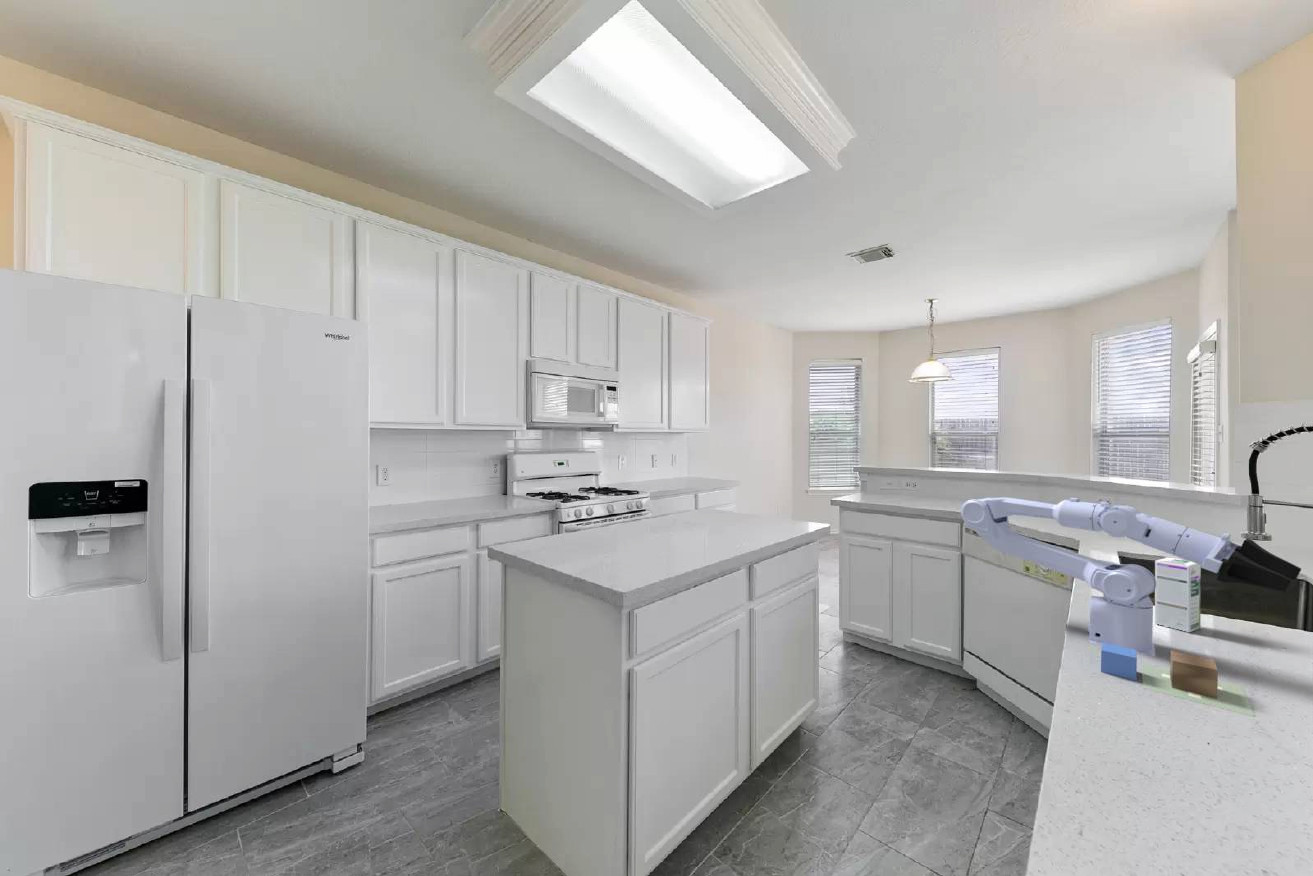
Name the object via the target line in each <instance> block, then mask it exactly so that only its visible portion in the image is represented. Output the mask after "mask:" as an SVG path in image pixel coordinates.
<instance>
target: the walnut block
mask: <svg viewBox="0 0 1313 876" xmlns="http://www.w3.org/2000/svg"><path fill="white" fill-rule="evenodd" d="M1169 670H1170V679H1171V685H1172V688H1176V689H1180V690H1184V691H1188V692H1192V693H1196V694H1200V695H1204V696H1208V697H1212V698H1216V699H1217V686H1218V681H1219V680H1218V679H1219V677H1218V676H1219V670H1218V666H1217V665H1216V662H1215V659H1211V658H1208V657H1206V658H1205V657H1202V656H1198V655H1193V654H1187V653H1182V652H1179V651H1178V652H1177V651H1175V650H1170V669H1169Z"/></svg>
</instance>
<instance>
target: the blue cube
mask: <svg viewBox="0 0 1313 876" xmlns="http://www.w3.org/2000/svg"><path fill="white" fill-rule="evenodd" d="M1100 651H1101V652H1100V655H1101V656H1100V657H1101V658H1100V672H1101V673H1104V674H1109V675H1113V676H1117V677H1120V678H1125V679H1127V680H1133V681H1137V671H1138V670H1137V667H1138V666H1137V665H1138V663H1137V662H1138V660H1137V659H1138V658H1137V657H1138V656H1137V654H1138V652H1137V650H1135V649H1131V648H1126V647H1121V646H1117V645H1112V644H1108V643H1103V642H1102V644H1101V650H1100Z"/></svg>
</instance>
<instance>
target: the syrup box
mask: <svg viewBox="0 0 1313 876" xmlns="http://www.w3.org/2000/svg"><path fill="white" fill-rule="evenodd" d="M1201 567H1202V565H1199V564H1196V563H1194V562H1191V561H1188V560H1185V559H1183V558H1179V557H1177V558H1176V557H1169V556H1168V557H1165V558H1161V559H1157V560H1154V577H1155V579H1156V588H1155V590H1154V624H1155V625H1157V624H1159V625H1158V626H1160V625H1163V626H1162V627H1164V626H1167V627H1173V628H1176V629H1179V630H1182V631H1181V632H1183V631H1186V632H1185V633H1187V632H1190V633H1191V632H1194V631H1196V629H1197V630H1199V629H1201V628H1200V627H1201V613H1202V612H1201V611H1202V610H1201V602H1202V601H1201V599H1202V598H1201V596H1202V595H1201V592H1202V591H1201V590H1202V589H1201V579H1202V578H1201V577H1202V576H1201V575H1202V573H1201V572H1202V570H1201V569H1202V568H1201ZM1167 627H1166V628H1167ZM1198 628H1199V629H1198ZM1179 630H1178V631H1179Z"/></svg>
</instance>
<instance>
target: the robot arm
mask: <svg viewBox="0 0 1313 876" xmlns="http://www.w3.org/2000/svg"><path fill="white" fill-rule="evenodd" d="M960 514H961V518H962V520H963V522H964V524H965V526H966V528H968V529H970V530H971V531H974V532H975V533H976V534H977V535H978V536H979V537H980V538H981V539H982V540H984V542H985V543H987V544H988V545H989V546H990V547H991V548H992V549H994V550H997V551H1000V552H1002V553H1004V554H1007V555H1010V556H1013V557H1015V558H1019V559H1021V560H1024V561H1027V562H1030V563H1031V564H1035V565H1038V566H1041V567H1044V568H1047V569H1050V570H1052V571H1055V572H1058V573H1060V574H1063V575H1066V576H1068V577H1071V578H1075V579H1077V580H1079V581H1083V582H1085V583H1086V584H1087V585H1088V586H1089V587H1090V588H1091V589H1094V590H1096V591H1098V592H1101V593H1102V595H1103V596H1095V595H1091V596H1090V601H1089V602H1090V605H1089V622H1088V623H1087V632H1089V636H1088V639H1089V640H1088V641H1089V642H1090V643H1092V644H1098V645H1102V642H1103V643H1108V644H1112V645H1117V646H1121V647H1126V648H1131V649H1135V650H1137V654H1142V655H1146V656H1151V657H1156V649H1155V644H1154V643H1153V627H1154V626H1153V625H1154V624H1153V622H1154V621H1153V620H1154V619H1153V618H1154V617H1153V616H1154V602H1153V601H1152V600H1151V598H1150V596H1149V595H1151V594H1152V593H1155V588H1156V579H1155V574H1153V573H1152V572H1151V571H1150V570H1149V569H1148V568H1146V567H1144V566H1141V565H1139V564H1134V563H1133V564H1132V563H1130V564H1129V563H1128V564H1120V563H1117V562H1114V561H1109V560H1102V559H1096V558H1093V557H1089V556H1086V555H1084V554H1081V553H1077V552H1074V551H1072V550H1068V549H1065V548H1062V547H1058V546H1056V545H1052V544H1049V543H1047V542H1043V541H1041V540H1037V539H1035V538H1031V537H1028V536H1026V535H1025V536H1024V535H1022V534H1019V533H1016V532H1014V531H1013V530H1012V527H1011V526H1010V523H1009V517H1011V516H1014V515H1016V516H1023V517H1031V518H1032V517H1033V518H1041V519H1050V520H1055V521H1056V522H1057V523H1058V524H1059V525H1060V526H1061V527H1064V528H1071V529H1072V528H1073V529H1077V530H1078V529H1079V530H1085V531H1091V532H1099V533H1100V532H1102V531H1103V532H1104V533H1107V534H1108V535H1109V536H1110V537H1112V538H1127V539H1130V540H1133V541H1135V542H1138V543H1141V544H1142V545H1145V546H1147V547H1150V548H1152V549H1156V550H1158V551H1161V552H1163V553H1166V554H1169V555H1171V556H1174V557H1177V558H1179V559H1185V560H1188V561H1191V562H1194V563H1196V564H1199V565H1201V569H1204V570H1207V571H1210V572H1212V573H1215V574H1217V573H1218V575H1217V578H1216V580H1217V581H1218V582H1220V583H1231V584H1242V585H1250V586H1254V587H1260V588H1264V589H1270V590H1274V591H1278V592H1284V593H1286V592H1287V591H1288V589H1289V587H1290V585H1291V584H1292V581H1296V580H1297V579H1298V577H1299V574H1300V573H1301V571H1302V567H1299V566H1297V565H1295V564H1293V563H1291V562H1289V561H1288V560H1285V559H1284V558H1281V557H1280V556H1277V555H1276V554H1273V553H1271V552H1270V551H1267V550H1266V549H1265V548H1263V547H1262V546H1260V545H1259V544H1258V543H1256V542H1255V541H1254V540H1252V539H1249V538H1245V539H1244V540H1243V542H1242V543H1240V542H1236V541H1233V540H1231V533H1228V532H1225V533H1223V534H1222V536H1221V537H1219V536H1216V535H1212V534H1209V533H1206V532H1204V531H1200V530H1198V529H1195V528H1191V527H1189V526H1185V525H1183V524H1179V523H1177V522H1176V523H1175V522H1172V521H1170V520H1167V519H1164V518H1161V517H1157V516H1156V517H1155V516H1152V515H1150V514H1147V513H1143V512H1141V511H1140V510H1138V509H1137V508H1135V507H1132V506H1130V505H1126V504H1123V503H1120V504H1116V505H1113V506H1110V503H1109V502H1108V501H1107V502H1106V501H1101V502H1100V503H1095V502H1087V501H1080V498H1077V497H1071V498H1069V499H1063V500H1061V501H1060V502H1059V503H1056V504H1055V503H1048V502H1042V501H1041V502H1040V501H1034V500H1028V499H1021V498H1014V497H994V496H988V497H984V498H979V499H973V498H972V499H969V500H965V502H964V503H963V504H962V506H961V508H960Z"/></svg>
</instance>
